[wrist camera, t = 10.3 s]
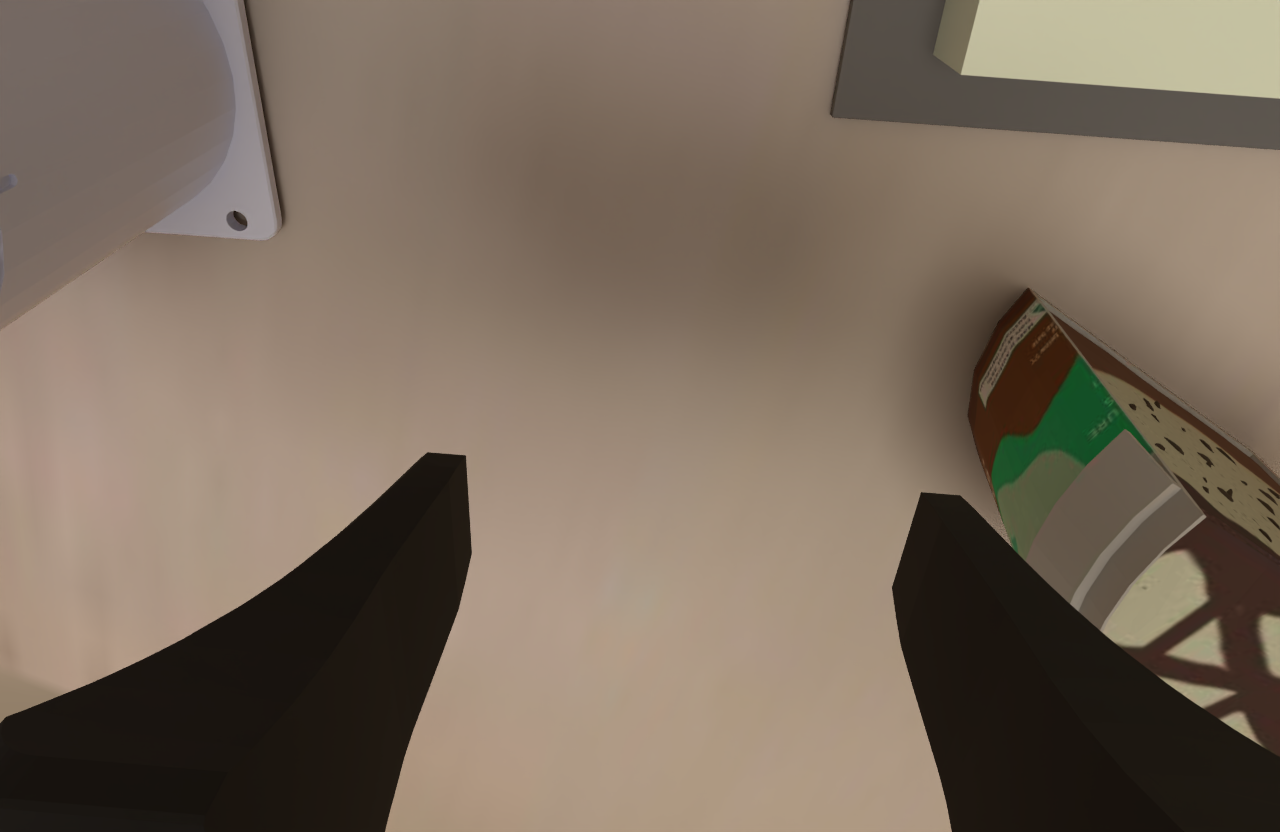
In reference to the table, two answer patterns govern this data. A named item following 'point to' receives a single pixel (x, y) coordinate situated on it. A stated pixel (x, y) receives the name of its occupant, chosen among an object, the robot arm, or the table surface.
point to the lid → (1118, 43)
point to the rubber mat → (1020, 91)
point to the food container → (1135, 511)
